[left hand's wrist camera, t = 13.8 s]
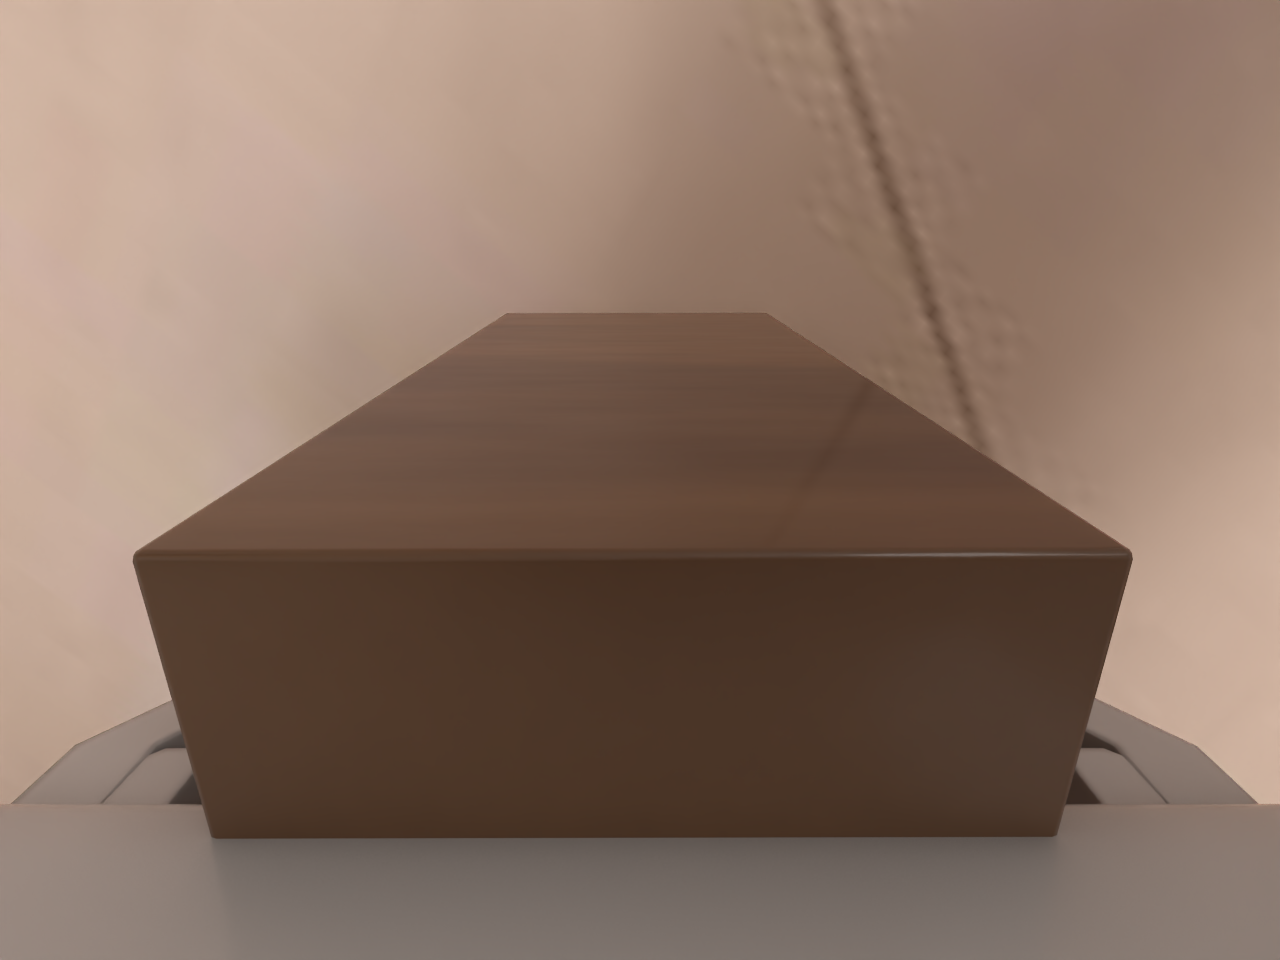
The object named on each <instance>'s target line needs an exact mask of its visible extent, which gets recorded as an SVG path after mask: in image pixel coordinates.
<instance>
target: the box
mask: <svg viewBox="0 0 1280 960" xmlns="http://www.w3.org/2000/svg"><path fill="white" fill-rule="evenodd" d="M1132 560H1133V558H1132V553H1131V551H1130V549H1128V548H1127V547H1125V546H1124V545H1122V544H1121V543H1119V542H1117V541H1116V540H1114V539H1113V538H1111V537H1110V536H1108V535H1107V534H1105V533H1104V532H1102V531H1101V530H1099V529H1097V528H1096V527H1094V526H1093V525H1091V524H1090V523H1088V522H1087V521H1085V520H1084V519H1082V518H1081V517H1079V516H1078V515H1076V514H1074V513H1073V512H1071V511H1070V510H1068V509H1067V508H1065V507H1064V506H1062V505H1061V504H1059V503H1058V502H1056V501H1054V500H1053V499H1051V498H1050V497H1048V496H1047V495H1045V494H1044V493H1042V492H1041V491H1039V490H1038V489H1036V488H1034V487H1033V486H1031V485H1030V484H1028V483H1027V482H1025V481H1024V480H1022V479H1021V478H1019V477H1018V476H1016V475H1015V474H1013V473H1011V472H1010V471H1008V470H1007V469H1005V468H1004V467H1002V466H1001V465H999V464H998V463H996V462H995V461H993V460H991V459H990V458H988V457H987V456H985V455H984V454H982V453H981V452H979V451H978V450H976V449H975V448H973V447H971V446H970V445H968V444H967V443H965V442H964V441H962V440H961V439H959V438H958V437H956V436H955V435H953V434H952V433H950V432H948V431H947V430H945V429H944V428H942V427H941V426H939V425H938V424H936V423H935V422H933V421H932V420H930V419H928V418H927V417H925V416H924V415H922V414H921V413H919V412H918V411H916V410H915V409H913V408H912V407H910V406H908V405H907V404H905V403H904V402H902V401H901V400H899V399H898V398H896V397H895V396H893V395H892V394H890V393H889V392H887V391H885V390H884V389H882V388H881V387H879V386H878V385H876V384H875V383H873V382H872V381H870V380H869V379H867V378H865V377H864V376H862V375H861V374H859V373H858V372H856V371H855V370H853V369H852V368H850V367H849V366H847V365H845V364H844V363H842V362H841V361H839V360H838V359H836V358H835V357H833V356H832V355H830V354H829V353H827V352H826V351H824V350H822V349H821V348H819V347H818V346H816V345H815V344H813V343H812V342H810V341H809V340H807V339H806V338H804V337H802V336H801V335H799V334H798V333H796V332H795V331H793V330H792V329H790V328H789V327H787V326H786V325H784V324H782V323H781V322H779V321H778V320H776V319H775V318H773V317H772V316H770V315H769V314H767V313H507V314H505V315H503V316H502V317H500V318H499V319H497V320H496V321H494V322H493V323H491V324H489V325H488V326H486V327H485V328H483V329H482V330H480V331H479V332H477V333H475V334H474V335H472V336H471V337H469V338H468V339H466V340H465V341H463V342H461V343H460V344H458V345H457V346H455V347H454V348H452V349H451V350H449V351H447V352H446V353H444V354H443V355H441V356H440V357H438V358H437V359H435V360H433V361H432V362H430V363H429V364H427V365H426V366H424V367H422V368H421V369H419V370H418V371H416V372H415V373H413V374H412V375H410V376H408V377H407V378H405V379H404V380H402V381H401V382H399V383H398V384H396V385H394V386H393V387H391V388H390V389H388V390H387V391H385V392H384V393H382V394H380V395H379V396H377V397H376V398H374V399H373V400H371V401H370V402H368V403H366V404H365V405H363V406H362V407H360V408H359V409H357V410H356V411H354V412H352V413H351V414H349V415H348V416H346V417H345V418H343V419H342V420H340V421H338V422H337V423H335V424H334V425H332V426H331V427H329V428H328V429H326V430H324V431H323V432H321V433H320V434H318V435H317V436H315V437H313V438H312V439H310V440H309V441H307V442H306V443H304V444H303V445H301V446H299V447H298V448H296V449H295V450H293V451H292V452H290V453H289V454H287V455H285V456H284V457H282V458H281V459H279V460H278V461H276V462H275V463H273V464H271V465H270V466H268V467H267V468H265V469H264V470H262V471H261V472H259V473H257V474H256V475H254V476H253V477H251V478H250V479H248V480H247V481H245V482H243V483H242V484H240V485H239V486H237V487H236V488H234V489H233V490H231V491H229V492H228V493H226V494H225V495H223V496H222V497H220V498H218V499H217V500H215V501H214V502H212V503H211V504H209V505H208V506H206V507H204V508H203V509H201V510H200V511H198V512H197V513H195V514H194V515H192V516H190V517H189V518H187V519H186V520H184V521H183V522H181V523H180V524H178V525H176V526H175V527H173V528H172V529H170V530H169V531H167V532H166V533H164V534H162V535H161V536H159V537H158V538H156V539H155V540H153V541H152V542H150V543H148V544H147V545H145V546H144V547H142V548H141V549H139V550H138V551H136V552H135V554H134V556H133V564H134V568H135V571H136V575H137V578H138V582H139V585H140V589H141V592H142V596H143V599H144V603H145V606H146V610H147V613H148V617H149V620H150V624H151V627H152V631H153V634H154V638H155V641H156V645H157V648H158V652H159V655H160V659H161V662H162V666H163V669H164V673H165V676H166V680H167V683H168V687H169V690H170V694H171V697H172V701H173V705H174V708H175V712H176V715H177V719H178V722H179V726H180V729H181V733H182V736H183V740H184V743H185V747H186V750H187V754H188V757H189V761H190V764H191V768H192V771H193V775H194V778H195V782H196V785H197V789H198V792H199V796H200V799H201V803H202V806H203V810H204V813H205V817H206V820H207V824H208V827H209V831H210V834H211V837H213V838H216V839H318V838H774V837H1053V836H1056V835H1057V833H1058V829H1059V826H1060V822H1061V819H1062V815H1063V811H1064V808H1065V804H1066V800H1067V797H1068V793H1069V789H1070V786H1071V782H1072V779H1073V775H1074V771H1075V768H1076V764H1077V760H1078V757H1079V753H1080V749H1081V746H1082V742H1083V738H1084V735H1085V731H1086V728H1087V724H1088V720H1089V717H1090V713H1091V709H1092V706H1093V702H1094V698H1095V695H1096V691H1097V688H1098V684H1099V680H1100V677H1101V673H1102V669H1103V666H1104V662H1105V658H1106V655H1107V651H1108V647H1109V644H1110V640H1111V637H1112V633H1113V629H1114V626H1115V622H1116V618H1117V615H1118V611H1119V607H1120V604H1121V600H1122V597H1123V593H1124V589H1125V586H1126V582H1127V578H1128V575H1129V571H1130V567H1131V564H1132Z"/></svg>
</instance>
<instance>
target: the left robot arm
mask: <svg viewBox="0 0 1280 960" xmlns="http://www.w3.org/2000/svg"><path fill="white" fill-rule="evenodd" d="M0 960H1280V804H1258V803H1257V802H1256V801H1255V800H1254V799H1253V798H1252V797H1251V796H1250V795H1249V794H1248V793H1246V792H1245V791H1244V790H1243V789H1242V788H1241V787H1240V786H1239V785H1238V784H1237V783H1236V782H1235V781H1234V780H1233V779H1232V778H1230V777H1229V776H1228V775H1227V774H1226V773H1225V772H1224V771H1223V770H1222V769H1221V768H1220V767H1219V766H1218V765H1217V764H1215V763H1214V762H1213V761H1212V760H1211V759H1210V758H1209V757H1208V756H1207V755H1206V754H1205V753H1204V752H1203V751H1202V750H1200V749H1199V748H1198V747H1197V746H1195V745H1193V744H1191V743H1189V742H1187V741H1185V740H1183V739H1180V738H1178V737H1176V736H1174V735H1172V734H1170V733H1168V732H1166V731H1164V730H1161V729H1159V728H1157V727H1155V726H1153V725H1151V724H1149V723H1147V722H1144V721H1142V720H1140V719H1138V718H1136V717H1134V716H1132V715H1130V714H1127V713H1125V712H1123V711H1121V710H1119V709H1117V708H1115V707H1113V706H1111V705H1108V704H1106V703H1104V702H1102V701H1100V700H1098V699H1096V698H1094V702H1093V706H1092V709H1091V713H1090V717H1089V720H1088V724H1087V728H1086V731H1085V735H1084V738H1083V742H1082V746H1081V749H1080V753H1079V757H1078V760H1077V764H1076V768H1075V771H1074V775H1073V779H1072V782H1071V786H1070V789H1069V793H1068V797H1067V800H1066V804H1065V808H1064V811H1063V815H1062V819H1061V822H1060V826H1059V829H1058V833H1057V835H1056V836H1053V837H774V838H318V839H216V838H213V837H211V834H210V831H209V827H208V824H207V820H206V817H205V813H204V810H203V806H202V803H201V799H200V796H199V792H198V789H197V785H196V782H195V778H194V775H193V771H192V768H191V764H190V761H189V757H188V754H187V750H186V747H185V743H184V740H183V736H182V733H181V729H180V726H179V722H178V719H177V715H176V712H175V708H174V705H173V701H172V700H171V701H169V702H167V703H165V704H163V705H160V706H158V707H156V708H154V709H152V710H150V711H148V712H145V713H143V714H141V715H139V716H137V717H135V718H133V719H130V720H128V721H126V722H124V723H122V724H120V725H118V726H115V727H113V728H111V729H109V730H107V731H105V732H102V733H100V734H98V735H96V736H94V737H92V738H90V739H87V740H85V741H83V742H81V743H79V744H77V745H75V746H74V747H73V748H71V749H70V750H69V751H68V752H67V753H66V754H65V755H64V756H63V757H62V758H61V759H59V760H58V761H57V762H56V763H55V764H54V765H53V766H52V767H51V768H50V769H48V770H47V771H46V772H45V773H44V774H43V775H42V776H41V777H40V778H39V779H38V780H36V781H35V782H34V783H33V784H32V785H31V786H30V787H29V788H28V789H27V790H26V791H24V792H23V793H22V794H21V795H20V796H19V797H18V798H17V799H16V800H15V801H13V802H12V803H11V804H0Z"/></svg>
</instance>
